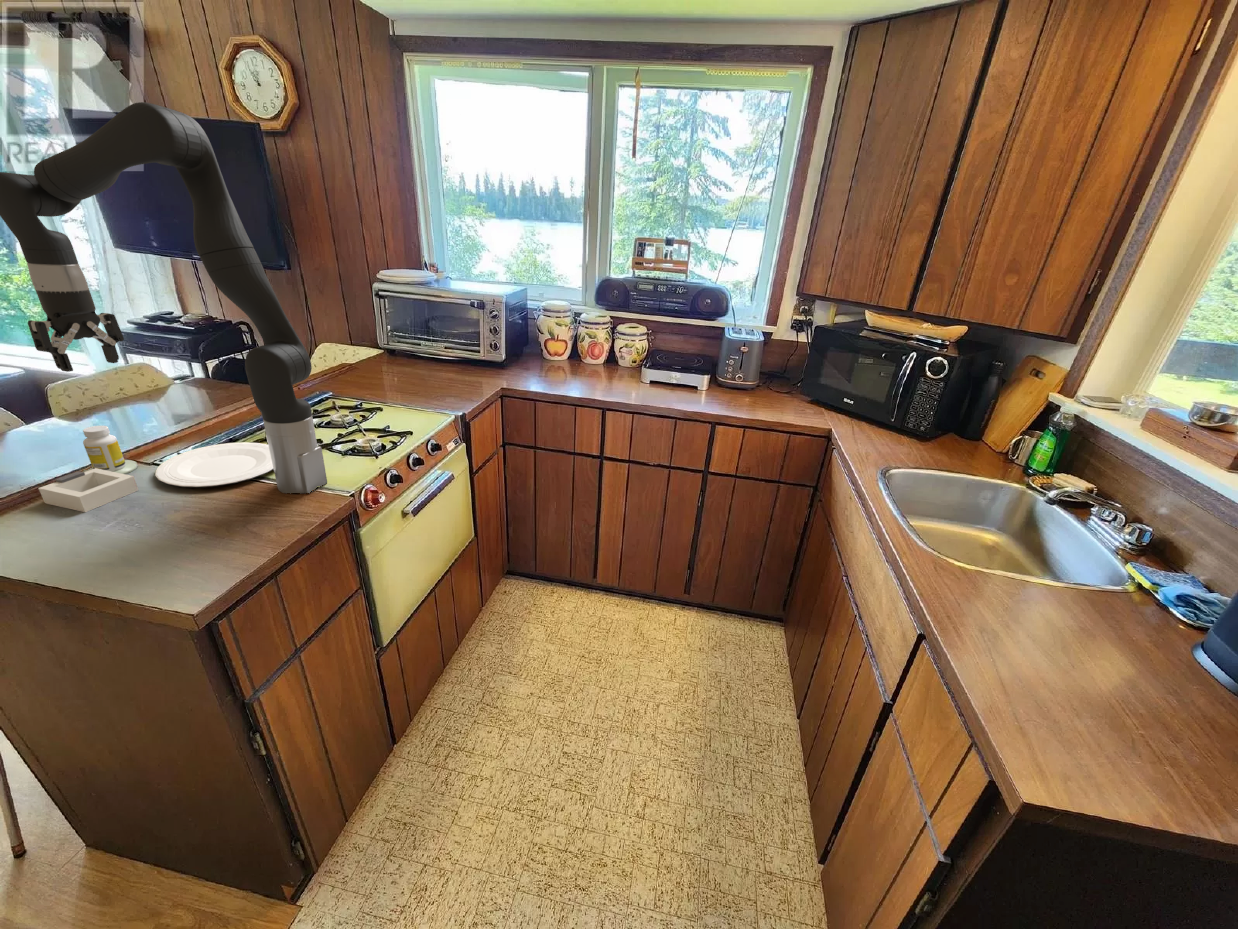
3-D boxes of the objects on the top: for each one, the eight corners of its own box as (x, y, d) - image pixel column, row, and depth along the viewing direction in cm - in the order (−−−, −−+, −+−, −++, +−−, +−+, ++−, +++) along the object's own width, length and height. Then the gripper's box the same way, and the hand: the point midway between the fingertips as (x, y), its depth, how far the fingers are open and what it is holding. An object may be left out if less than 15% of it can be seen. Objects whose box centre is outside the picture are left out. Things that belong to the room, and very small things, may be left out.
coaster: (147, 465, 118) (147, 463, 118) (105, 481, 110) (104, 479, 110) (116, 459, 119) (115, 457, 119) (72, 474, 111) (71, 472, 111)
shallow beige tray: (138, 490, 108) (132, 473, 107) (85, 512, 99) (78, 494, 98) (100, 482, 110) (94, 465, 108) (45, 503, 101) (37, 485, 99)
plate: (254, 440, 136) (252, 434, 136) (306, 467, 126) (305, 460, 125) (137, 470, 116) (134, 463, 116) (187, 505, 106) (185, 497, 105)
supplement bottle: (123, 461, 118) (110, 422, 114) (128, 468, 115) (115, 429, 111) (91, 467, 114) (76, 427, 110) (96, 475, 111) (80, 434, 107)
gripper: (33, 292, 93) (66, 376, 100) (116, 286, 106) (140, 361, 113) (0, 288, 94) (35, 371, 101) (87, 283, 107) (112, 357, 114)
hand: (91, 366), depth 107 cm, fingers open, 8 cm apart
